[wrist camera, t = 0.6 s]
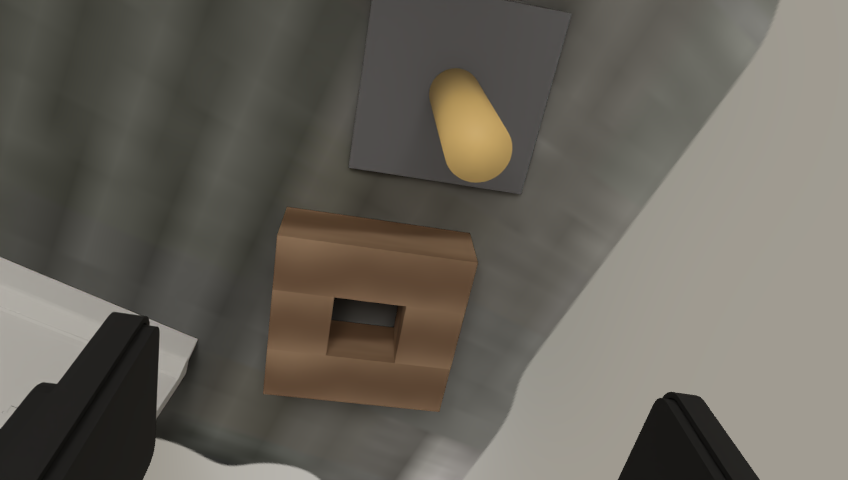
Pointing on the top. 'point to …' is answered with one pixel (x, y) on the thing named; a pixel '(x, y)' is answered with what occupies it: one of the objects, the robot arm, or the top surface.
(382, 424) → the top surface
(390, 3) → the mat
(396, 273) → the hole block
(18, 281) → the white plastic device case
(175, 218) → the top surface
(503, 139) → the peg
